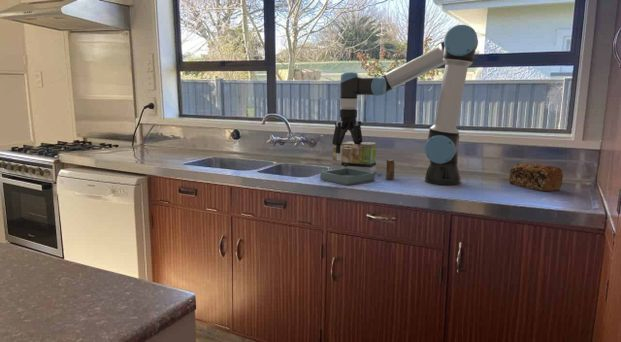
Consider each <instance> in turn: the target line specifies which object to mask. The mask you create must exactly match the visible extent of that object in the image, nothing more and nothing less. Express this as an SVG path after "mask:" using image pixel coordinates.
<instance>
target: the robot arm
mask: <svg viewBox="0 0 621 342" xmlns="http://www.w3.org/2000/svg"><path fill="white" fill-rule="evenodd" d="M478 45H479V38H478V35H477V32H476V31H475V29H474V28H473V27H472V26H470V25H466V24H457V25H455V26H453V27H451V28H450V29H448V31H447V32H446V34H445V36H444V38H443V41H442V42H440V43H439V46H438V47H436V48H433V49H432V50H430V51H428V52H426V53H424V54H422V55H420V56H418V57H416V58H413V59H412V60H410V61H408V62H406V63H404V64H402V65H400V66H398V67H396V68H395V69H393V70H391V71H388V72H386V73H384V74H382V75H381V76H369V77H365V76H364V77H362V76H359V73H358V72H349V71H347V72H342V73H341V74H340V83H339V84H340V89H339V90H340V97H339V98H340V99H339V108H340V109H339V118H340V121H335V122H334V126H335V127H334V132H333V138H332V145H334V146H335V147H336V153H337V160H338V161H337V162H340V161H342V146H341V145H342V143H343V141H344V138H345V136H346V133H347V132H348V131H349V133H350V134H351V135H350V136H351V138H352V142H354V144H353V146H355V147H359V144H361V143H362V142H363V136H362V135H363V134H362V127H361V125H362V121H361V120H357V117H358V109H357V108H358V97H359V96H384V95H385V94H387V93H388V92H389V91H392V90H394V89H395V88H398V87H400V86H402V85H404V84H406V83H407V82H411V81H412V80H414V79H416V78H418V77H420V76H422V75H425V74H426V73H428V72H430V71H432V70H435V69H437V68H439V67H441V66H443V65H444V70H443V71H444V72H443V74H442V81H441V85H440V86H441V87H440V92H439V98H438V103H437V110H436V115H435V120H434V123H433V125H432V126H430V127H429V129H428V130H429V131H428V136H427V140H426V142H425V145H424V153H425V155H426V157H427V159H428V160H429V164H428V167H427V169H426V173H425V175H424V181H425V182H426V183H430V184H433V185H442V186H443V185H445V186H446V185H447V186H448V185H449V186H451V185H458V184H460V183H461V180H462V179H461V174H460V169H459V166H458V157H459V142H460V131H459V130H458V128H457V124H458V119H459V116H460V110H461V105H462V104H461V103H462V99H463V93H464V89H465V83H466V79H467V74H468V73H467V72H468V68H469V67H470V66H471V65H472V64H473V63H474V58H475V53H476V50H477V49H478Z"/></svg>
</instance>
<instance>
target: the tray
mask: <svg viewBox="0 0 621 342" xmlns="http://www.w3.org/2000/svg"><path fill="white" fill-rule="evenodd" d="M375 174H376V172H374V173H371V172H366V171H360V170H355V169H350V168H343V169H341V168H338V169H332V170H331V169H330V170H322V171H320V180H322V181H326V182H329V183H334V184H338V183H339V185H344V186H347V187H348V186H353V185H359V184H365V183H371V182H375Z"/></svg>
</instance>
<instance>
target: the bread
mask: <svg viewBox="0 0 621 342" xmlns="http://www.w3.org/2000/svg"><path fill="white" fill-rule="evenodd" d="M563 174H564V173H563V170H562V169H561V168H559V167H558V166H555V165H553V166H552V165H547V164H541V163H529V162H523V163H522V162H520V163H515V165H514V166H512V167H511V168H510V169H509V177H508V179H509V184H510V185H514V186H516V187H517V186H518V187H522V188H525V189H530V190H531V189H532V190H535V191H542V192H552V191H553V192H554V191H555V192H557V191H560V190H561V188H562V185H563V178H564V175H563Z"/></svg>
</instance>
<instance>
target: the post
mask: <svg viewBox="0 0 621 342" xmlns="http://www.w3.org/2000/svg"><path fill="white" fill-rule="evenodd" d="M385 172H386V175H385V178H386V180H389V181H390V180H394V179H395V159H386V171H385Z"/></svg>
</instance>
